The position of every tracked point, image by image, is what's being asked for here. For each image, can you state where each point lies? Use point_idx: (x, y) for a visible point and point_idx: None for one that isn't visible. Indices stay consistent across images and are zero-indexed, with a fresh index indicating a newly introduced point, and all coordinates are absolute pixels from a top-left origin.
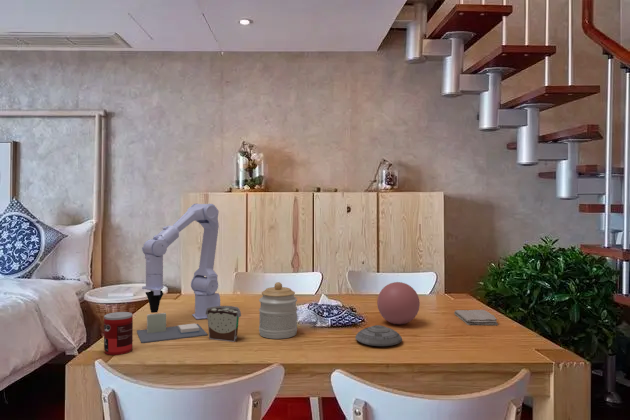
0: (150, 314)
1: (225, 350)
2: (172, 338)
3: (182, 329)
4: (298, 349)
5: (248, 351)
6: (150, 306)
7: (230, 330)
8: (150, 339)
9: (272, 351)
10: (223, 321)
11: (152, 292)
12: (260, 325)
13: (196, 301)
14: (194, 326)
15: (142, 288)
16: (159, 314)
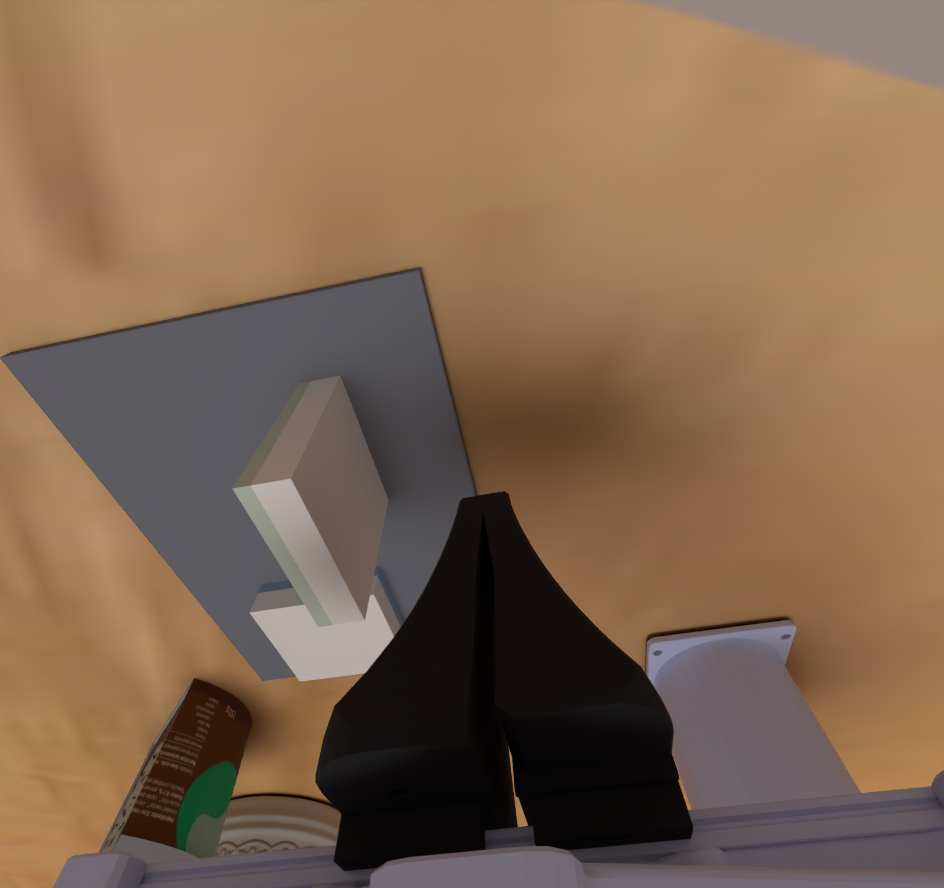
0: (291, 511)
1: (7, 717)
2: (156, 546)
3: (254, 617)
4: (88, 839)
5: (19, 764)
6: (443, 553)
7: (132, 792)
8: (98, 420)
9: (43, 803)
10: (115, 832)
11: (386, 829)
12: (233, 850)
13: (752, 760)
14: (327, 664)
15: (408, 882)
16: (292, 583)
